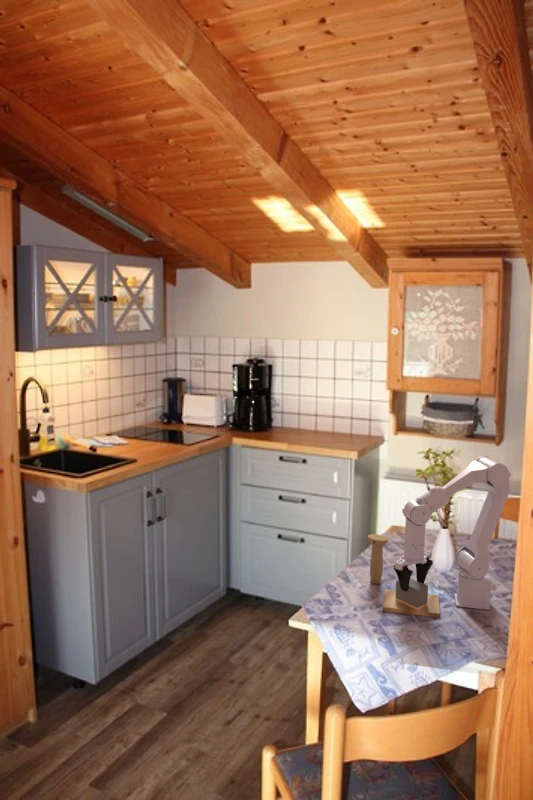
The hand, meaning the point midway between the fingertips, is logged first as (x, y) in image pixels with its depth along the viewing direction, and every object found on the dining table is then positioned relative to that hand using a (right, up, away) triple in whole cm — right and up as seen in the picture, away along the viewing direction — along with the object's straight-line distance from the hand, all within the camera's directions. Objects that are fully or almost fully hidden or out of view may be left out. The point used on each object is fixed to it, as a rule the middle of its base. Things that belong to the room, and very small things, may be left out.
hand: (412, 586), depth 194 cm
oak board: (0, -6, +2) cm, 6 cm away
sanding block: (0, -5, +1) cm, 5 cm away
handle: (-8, -4, +17) cm, 19 cm away
